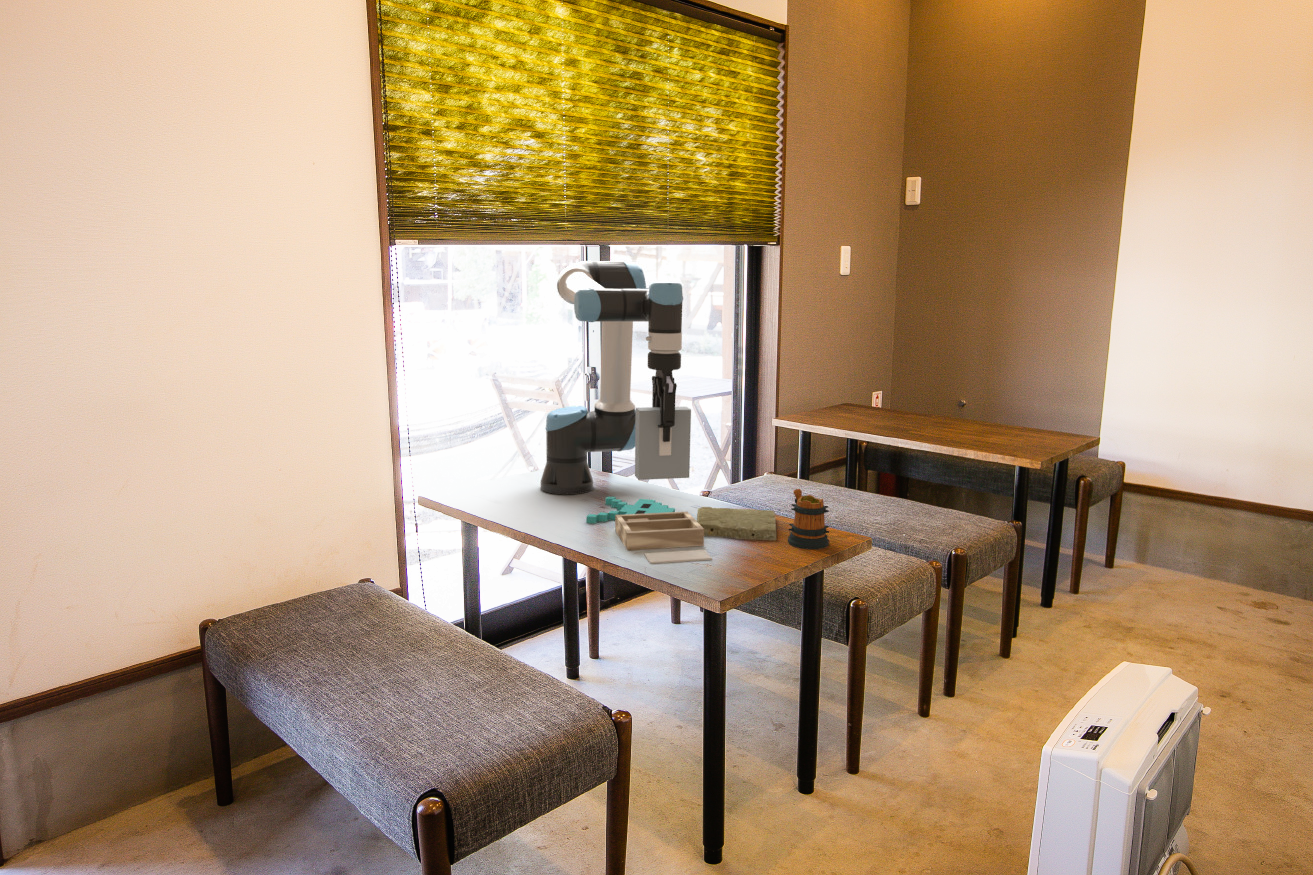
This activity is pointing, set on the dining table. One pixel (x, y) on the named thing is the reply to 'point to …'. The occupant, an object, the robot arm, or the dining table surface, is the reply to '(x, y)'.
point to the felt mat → (677, 556)
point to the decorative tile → (738, 523)
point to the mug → (808, 523)
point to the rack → (659, 530)
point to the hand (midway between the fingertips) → (662, 452)
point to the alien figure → (628, 509)
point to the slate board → (648, 445)
